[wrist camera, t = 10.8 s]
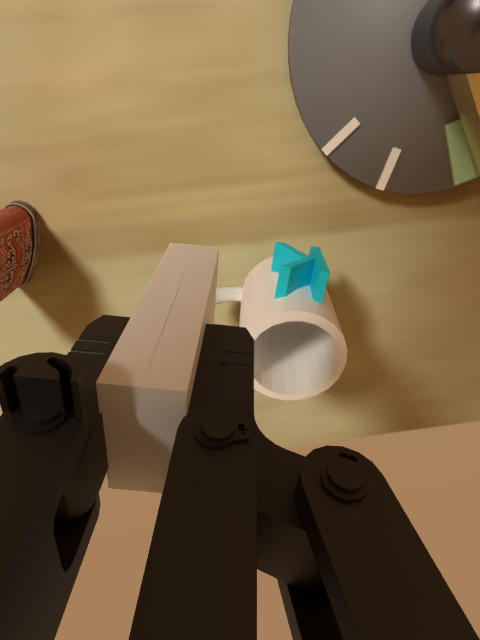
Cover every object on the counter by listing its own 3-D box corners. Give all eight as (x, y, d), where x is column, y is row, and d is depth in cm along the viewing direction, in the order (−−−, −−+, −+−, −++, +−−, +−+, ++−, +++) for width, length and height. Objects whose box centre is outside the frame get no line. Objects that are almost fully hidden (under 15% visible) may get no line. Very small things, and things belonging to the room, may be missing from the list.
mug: (334, 228, 34) (369, 290, 23) (312, 320, 38) (333, 405, 28) (197, 210, 33) (170, 265, 23) (191, 305, 38) (166, 386, 27)
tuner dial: (357, -248, 21) (366, -277, 19) (682, -115, 23) (715, -131, 21) (253, 149, 31) (253, 152, 29) (486, 217, 33) (498, 224, 31)
